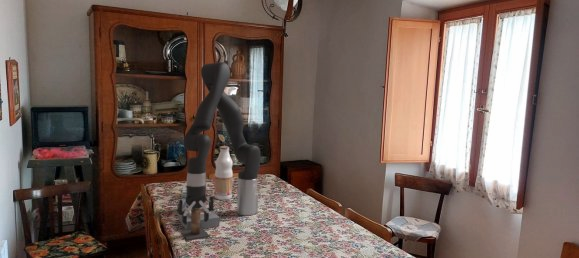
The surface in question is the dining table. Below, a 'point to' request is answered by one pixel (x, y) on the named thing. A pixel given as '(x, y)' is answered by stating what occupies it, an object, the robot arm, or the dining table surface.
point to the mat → (189, 236)
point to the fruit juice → (223, 175)
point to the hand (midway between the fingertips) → (195, 222)
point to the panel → (202, 220)
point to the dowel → (195, 221)
